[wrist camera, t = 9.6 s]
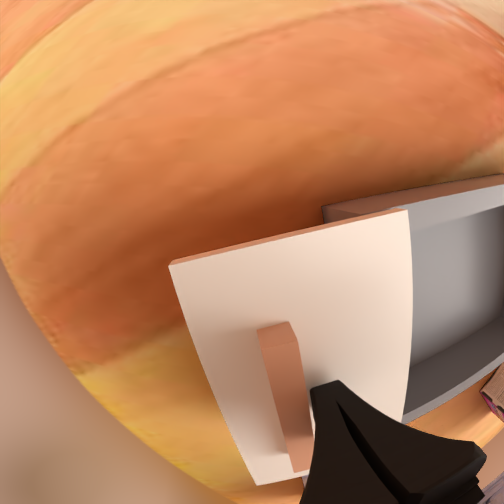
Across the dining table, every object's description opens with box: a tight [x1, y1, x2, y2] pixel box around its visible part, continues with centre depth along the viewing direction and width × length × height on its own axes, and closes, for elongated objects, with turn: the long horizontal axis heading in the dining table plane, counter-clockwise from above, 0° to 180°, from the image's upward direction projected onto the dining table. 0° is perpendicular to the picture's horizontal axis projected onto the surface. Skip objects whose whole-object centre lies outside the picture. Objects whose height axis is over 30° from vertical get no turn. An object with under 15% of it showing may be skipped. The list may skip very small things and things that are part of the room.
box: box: [321, 174, 504, 425], centre depth 15 cm, size 18×14×5 cm
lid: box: [168, 208, 413, 485], centre depth 11 cm, size 9×14×2 cm, turn 13°
